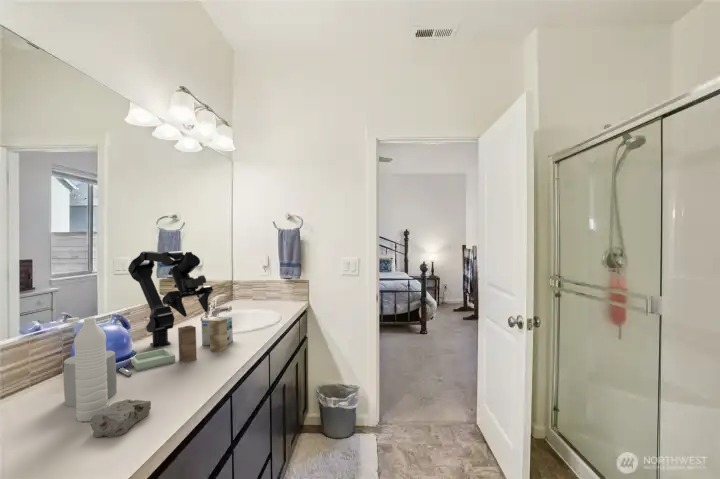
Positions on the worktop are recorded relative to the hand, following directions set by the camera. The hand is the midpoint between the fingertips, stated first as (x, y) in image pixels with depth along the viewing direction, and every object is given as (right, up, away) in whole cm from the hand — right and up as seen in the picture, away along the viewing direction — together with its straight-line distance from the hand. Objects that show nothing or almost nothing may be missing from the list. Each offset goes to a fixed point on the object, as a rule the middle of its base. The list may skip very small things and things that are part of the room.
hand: (196, 313), depth 140 cm
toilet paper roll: (-13, -16, -37) cm, 43 cm away
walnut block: (0, -15, -7) cm, 17 cm away
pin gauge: (-15, -16, -20) cm, 29 cm away
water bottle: (-6, -16, -48) cm, 51 cm away
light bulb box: (+3, -15, +13) cm, 20 cm away
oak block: (+7, -15, +4) cm, 17 cm away
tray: (-12, -16, -9) cm, 22 cm away
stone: (+6, -16, -53) cm, 56 cm away
